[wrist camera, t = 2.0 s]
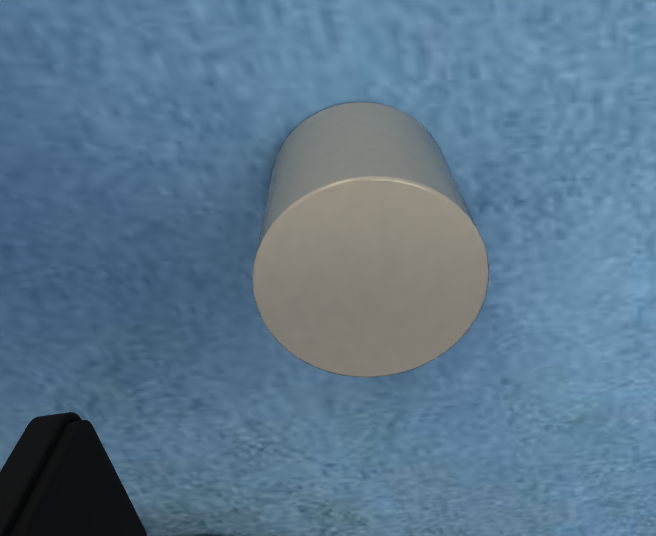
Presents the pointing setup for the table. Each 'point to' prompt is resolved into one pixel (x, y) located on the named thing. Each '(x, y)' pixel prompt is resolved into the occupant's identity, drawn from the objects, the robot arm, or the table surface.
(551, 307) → the table surface
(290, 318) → the beige cylinder
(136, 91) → the table surface
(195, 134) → the table surface
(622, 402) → the table surface
